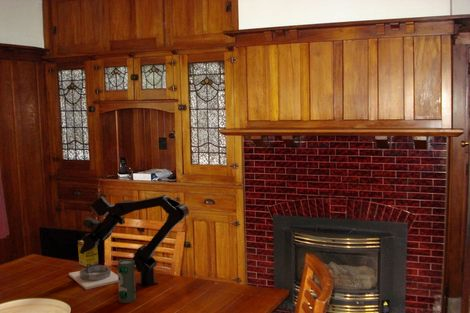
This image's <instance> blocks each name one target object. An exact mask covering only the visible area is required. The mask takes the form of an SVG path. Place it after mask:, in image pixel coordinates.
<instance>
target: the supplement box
mask: <svg viewBox="0 0 470 313" xmlns="http://www.w3.org/2000/svg"><path fill="white" fill-rule="evenodd" d="M83 244H84V241H83V240H82V239H81V240H77V249H78V250H77V251H78V262H79V264H78V265H79V267H82V268H83V269H84V268H89V267H93V266H99V253H98V252H99V251H98V245H97V246H96V247H95V248H93V249H91V250H89V251H87V252H85V253H82V254H81V253H80V250H81V248H82V246H83Z"/></svg>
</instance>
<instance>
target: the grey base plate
mask: <svg viewBox="0 0 470 313" xmlns="http://www.w3.org/2000/svg"><path fill="white" fill-rule="evenodd" d="M80 271H81V270H79V271H72V272H68V276H69V277H70V278H72V279H73V280H74V281H75V282H76V283H77V284H79V285H80V286H81V287H82V288H83V289H85V290H89V289H95V288H99V287H104V286H107V285H112V284H116V283H118V274H116V273H115V272H113V271H112V270H111V275H110V277H108V278H106V279H102V280H98V281H85V280H82V279H81V278H80ZM100 273H104V272H93V273H88V274H100Z"/></svg>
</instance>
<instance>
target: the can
mask: <svg viewBox="0 0 470 313" xmlns="http://www.w3.org/2000/svg"><path fill="white" fill-rule="evenodd" d="M117 275H118V282H117V283H118V284H117V285H118V301H119V302H120V303H122V304H125V303H126V304H129V303H133V302H135V301H136V300H137V288H136V266H135V261H134V260H133V259H121V260H119V261H117Z"/></svg>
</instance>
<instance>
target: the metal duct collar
mask: <svg viewBox="0 0 470 313" xmlns="http://www.w3.org/2000/svg"><path fill="white" fill-rule="evenodd" d="M79 271H80V278H81V279H82V280H85V281H98V280H102V279H106V278H108V277H110V275H111V271H112V270H111V267H109V266H106V265H97V266H93V267H89V268H84V267H83V268H82V269H81V270H79ZM93 272H104V273H100V274H88V273H93Z"/></svg>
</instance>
